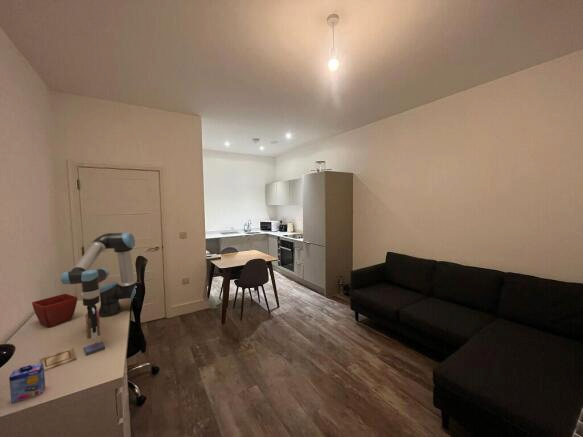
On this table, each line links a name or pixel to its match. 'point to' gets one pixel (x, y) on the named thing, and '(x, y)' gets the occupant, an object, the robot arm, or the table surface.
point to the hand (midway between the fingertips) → (93, 335)
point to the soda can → (87, 319)
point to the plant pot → (55, 309)
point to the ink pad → (93, 348)
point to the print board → (58, 359)
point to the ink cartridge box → (27, 382)
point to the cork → (90, 328)
